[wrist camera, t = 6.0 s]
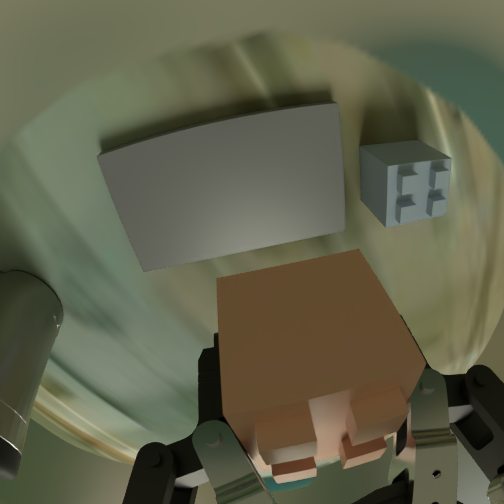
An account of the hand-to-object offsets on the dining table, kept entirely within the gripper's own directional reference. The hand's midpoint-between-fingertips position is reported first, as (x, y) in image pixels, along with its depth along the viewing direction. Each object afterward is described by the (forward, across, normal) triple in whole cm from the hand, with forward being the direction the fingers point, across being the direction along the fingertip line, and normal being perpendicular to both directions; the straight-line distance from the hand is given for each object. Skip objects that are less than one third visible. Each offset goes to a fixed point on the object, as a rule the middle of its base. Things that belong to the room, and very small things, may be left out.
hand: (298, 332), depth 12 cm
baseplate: (+15, +2, 0) cm, 15 cm away
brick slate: (+15, -12, +1) cm, 20 cm away
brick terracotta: (+1, 0, 0) cm, 1 cm away
